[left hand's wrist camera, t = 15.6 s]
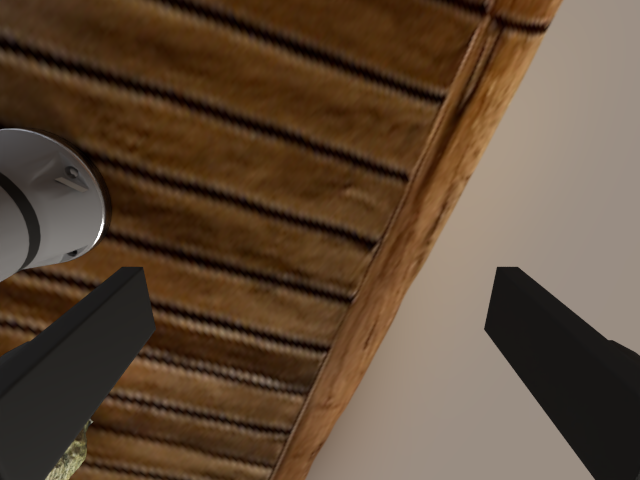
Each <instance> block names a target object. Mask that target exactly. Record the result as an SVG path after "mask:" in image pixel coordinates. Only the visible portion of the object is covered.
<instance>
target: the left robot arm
mask: <svg viewBox="0 0 640 480" xmlns="http://www.w3.org/2000/svg"><path fill="white" fill-rule="evenodd" d="M111 214H112V211H111V200H110V195H109V192H108V189H107V186H106V184H105V182H104V180H103V178H102V176H101V174H100V173H99V171H98V169H97V168H96V167H95V165H94V164H93V163H92V162H91V161H90V159H89V158H88V157H87V156H86V155H85V154H84V153H83V152H81V151H80V150H79V149H78V148H77V147H75V146H74V145H73V144H71V143H70V142H68V141H66V140H65V139H63V138H61V137H59V136H57V135H54V134H52V133H50V132H46V131H43V130H39V129H33V128H11V129H0V282H1V281H3V280H4V279H6V278H8V277H10V276H11V275H13V274H15V273H17V272H18V271H20V270H22V269H27V268H33V267H39V266H45V265H51V264H57V263H62V262H67V261H71V260H73V259H76V258H78V257H80V256H82V255H83V254H85V253H87V252H88V251H90V250H91V249H93V248H94V247H96V246H97V245H98V244H99V243H100V242H101V240H102V239H103V238H104V236H105V235H106V233H107V231H108V228H109V225H110V221H111ZM155 330H156V328H155V323H154V318H153V313H152V308H151V303H150V299H149V294H148V289H147V284H146V279H145V275H144V270H143V267H122V268H120V269H119V270H118V271H117V272H115V273H114V274H113V275H112V276H110V277H109V278H108V279H107V280H105V281H104V282H103V283H102V284H101V285H99V286H98V287H97V288H96V289H94V290H93V291H92V292H91V293H89V294H88V295H87V296H86V297H85V298H83V299H82V300H81V301H80V302H78V303H77V304H76V305H75V306H73V307H72V308H71V309H70V310H68V311H67V312H66V313H65V314H64V315H62V316H61V317H60V318H59V319H57V320H56V321H55V322H54V323H52V324H51V325H50V326H49V327H47V328H46V329H45V330H44V331H43V332H41V333H40V334H39V335H38V336H36V337H35V338H34V339H33V340H31V341H30V342H26V343H24V344H22V345H20V346H18V347H16V348H15V349H13V350H11V351H9V352H7V353H5V354H4V355H3V356H1V357H0V480H45V479H46V477H47V476H48V475H49V473H50V472H51V471H52V469H53V468H54V467H55V465H56V464H57V463H58V461H59V460H60V458H61V457H62V456H63V454H64V453H65V452H66V450H67V449H68V448H69V446H70V445H71V444H72V442H73V441H74V440H75V438H76V437H77V435H78V434H79V433H80V431H81V430H82V429H83V427H84V426H85V425H86V423H87V422H88V421H89V419H90V418H91V416H92V415H93V414H94V412H95V411H96V410H97V408H98V407H99V406H100V404H101V403H102V402H103V400H104V399H105V397H106V396H107V395H108V393H109V392H110V391H111V389H112V388H113V387H114V385H115V384H116V383H117V381H118V380H119V378H120V377H121V376H122V374H123V373H124V372H125V370H126V369H127V368H128V366H129V365H130V364H131V362H132V361H133V360H134V358H135V357H136V355H137V354H138V353H139V351H140V350H141V349H142V347H143V346H144V345H145V343H146V342H147V341H148V339H149V338H150V336H151V335H152V334H153V332H154V331H155ZM484 330H485V331H486V332H487V334H488V335H489V336H490V338H491V339H492V341H493V342H494V343H495V345H496V346H497V347H498V349H499V350H500V351H501V353H502V354H503V355H504V357H505V358H506V359H507V361H508V362H509V363H510V365H511V366H512V368H513V369H514V370H515V372H516V373H517V374H518V376H519V377H520V378H521V380H522V381H523V383H524V384H525V385H526V387H527V388H528V389H529V391H530V392H531V393H532V395H533V396H534V397H535V399H536V400H537V402H538V403H539V404H540V406H541V407H542V408H543V410H544V411H545V412H546V414H547V415H548V416H549V418H550V419H551V420H552V422H553V423H554V425H555V426H556V427H557V429H558V430H559V431H560V433H561V434H562V435H563V437H564V438H565V439H566V441H567V442H568V443H569V445H570V446H571V448H572V449H573V450H574V452H575V453H576V454H577V456H578V457H579V458H580V460H581V461H582V463H583V464H584V465H585V467H586V468H587V469H588V471H589V472H590V473H591V475H592V476H593V477H594V479H595V480H640V356H639V355H638V354H637V353H636V352H634V351H632V350H630V349H628V348H626V347H624V346H622V345H621V344H619V343H617V342H615V341H613V340H607V339H606V338H605V337H604V336H602V335H601V334H600V333H599V332H597V331H596V330H595V329H594V328H593V327H591V326H590V325H589V324H588V323H586V322H585V321H584V320H583V319H581V318H580V317H579V316H578V315H576V314H575V313H574V312H573V311H572V310H570V309H569V308H568V307H566V306H565V305H564V304H563V303H562V302H560V301H559V300H558V299H557V298H555V297H554V296H553V295H552V294H551V293H549V292H548V291H547V290H546V289H544V288H543V287H542V286H541V285H539V284H538V283H537V282H536V281H535V280H533V279H532V278H531V277H530V276H528V275H527V274H526V273H525V272H523V271H522V270H521V269H520V268H518V267H497V270H496V275H495V279H494V284H493V289H492V294H491V299H490V303H489V308H488V313H487V318H486V323H485V328H484Z"/></svg>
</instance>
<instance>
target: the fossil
mask: <svg viewBox="0 0 640 480" xmlns="http://www.w3.org/2000/svg"><path fill="white" fill-rule="evenodd" d="M92 422H93V421H92V420H91V419H89V421H88V422H87V423H86V425H85V426H84V427H83V429H82V430H81V431H80V433H79V434H78V435H77V437H76V438H75V440H74V441H73V442H72V444H71V445H70V446H69V448H68V449H67V450H66V452H65V453H64V454H63V456H62V457H61V458H60V460H59V461H58V463H57V464H56V465H55V467H54V468H53V469H52V471H51V472H50V473H49V475H48V476H47V477H46V479H45V480H68V479H69V478H70V477H71V475H72V474H73V473H74V472H75V471H76V470H77V469H78V468H79V466H80V465H81V464H82V462H83V461H84V460H85V458H86V453H87V445H86V443H87V438H86V434H85V433H86V431H87V429H88V427H89V425H90V424H91V423H92Z"/></svg>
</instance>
